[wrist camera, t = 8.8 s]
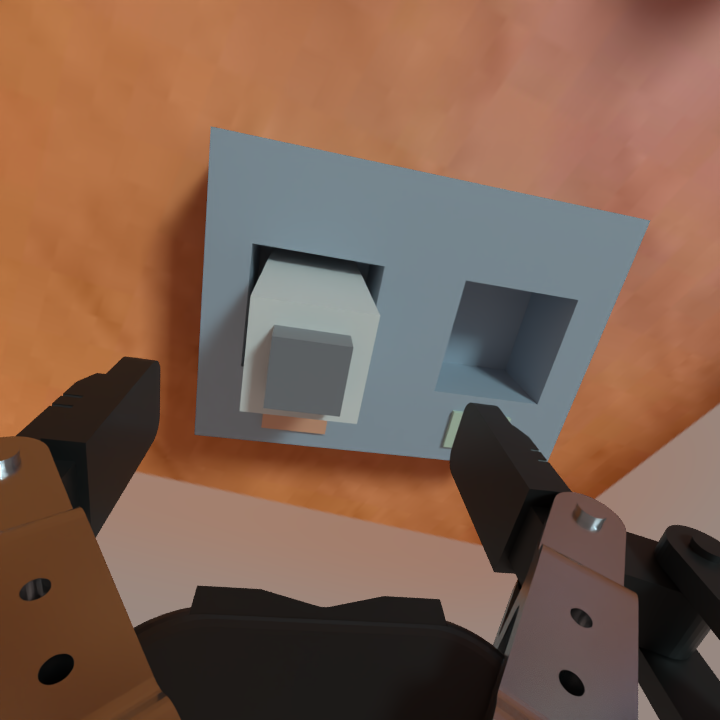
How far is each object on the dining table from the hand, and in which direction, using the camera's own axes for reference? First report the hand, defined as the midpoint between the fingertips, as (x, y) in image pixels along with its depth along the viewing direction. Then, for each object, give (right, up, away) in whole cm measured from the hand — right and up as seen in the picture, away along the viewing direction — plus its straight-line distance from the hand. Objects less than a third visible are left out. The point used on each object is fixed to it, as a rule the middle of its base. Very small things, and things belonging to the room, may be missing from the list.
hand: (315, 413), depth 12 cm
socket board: (+3, +5, +13) cm, 14 cm away
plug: (-1, +5, +11) cm, 12 cm away
